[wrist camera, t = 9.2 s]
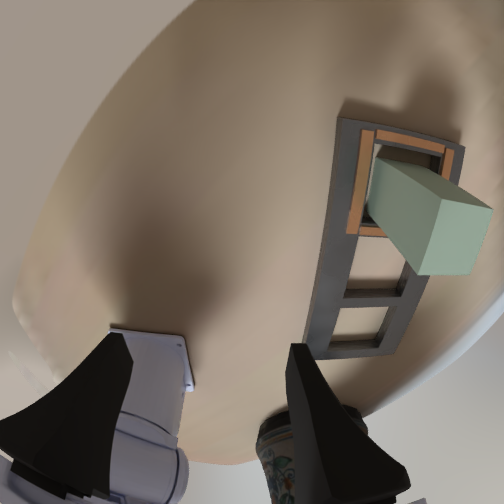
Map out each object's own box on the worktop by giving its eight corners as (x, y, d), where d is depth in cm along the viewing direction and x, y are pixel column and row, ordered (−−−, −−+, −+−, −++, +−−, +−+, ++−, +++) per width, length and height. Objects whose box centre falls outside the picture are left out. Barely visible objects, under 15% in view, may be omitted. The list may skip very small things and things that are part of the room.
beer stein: (284, 451, 42) (289, 569, 21) (222, 414, 34) (212, 583, 12) (372, 425, 38) (396, 552, 16) (342, 378, 29) (376, 580, 8)
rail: (389, 345, 27) (393, 355, 25) (299, 351, 27) (301, 362, 25) (456, 143, 16) (467, 147, 15) (337, 116, 16) (343, 118, 15)
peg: (410, 215, 19) (469, 275, 12) (365, 211, 19) (417, 275, 12) (422, 165, 17) (493, 209, 10) (375, 156, 17) (442, 198, 10)
